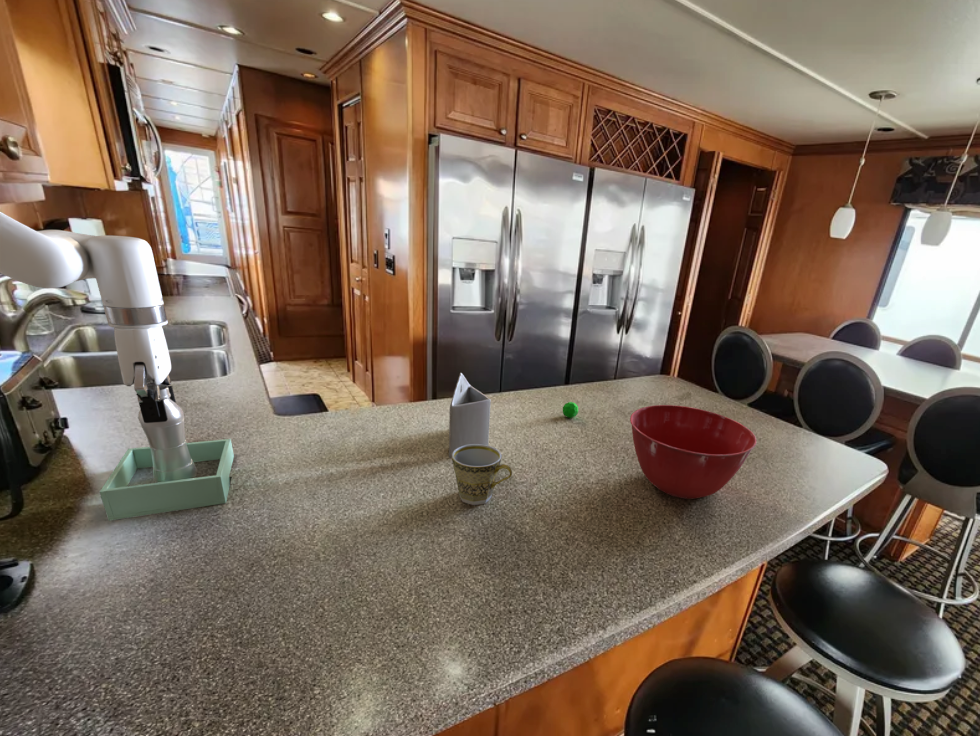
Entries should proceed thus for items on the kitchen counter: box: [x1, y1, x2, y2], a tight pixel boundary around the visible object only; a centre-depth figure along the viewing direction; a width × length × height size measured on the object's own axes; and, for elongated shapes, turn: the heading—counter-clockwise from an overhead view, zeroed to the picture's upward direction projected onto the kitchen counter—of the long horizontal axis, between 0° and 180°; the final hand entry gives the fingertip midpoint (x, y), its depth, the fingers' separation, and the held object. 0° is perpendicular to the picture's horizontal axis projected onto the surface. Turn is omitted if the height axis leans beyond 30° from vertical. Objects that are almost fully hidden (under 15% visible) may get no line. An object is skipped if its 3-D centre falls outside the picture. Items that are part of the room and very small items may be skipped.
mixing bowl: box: [629, 404, 757, 500], centre depth 108 cm, size 28×28×16 cm
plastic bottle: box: [137, 384, 198, 483], centre depth 85 cm, size 6×7×20 cm
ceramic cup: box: [451, 444, 513, 506], centre depth 95 cm, size 13×10×10 cm
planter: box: [448, 372, 492, 459], centre depth 115 cm, size 16×8×19 cm, turn 175°
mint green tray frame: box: [99, 438, 235, 522], centre depth 88 cm, size 17×17×6 cm
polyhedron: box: [562, 401, 579, 419], centre depth 143 cm, size 5×5×5 cm
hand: (160, 413), depth 83 cm, fingers closed on plastic bottle, 6 cm apart
